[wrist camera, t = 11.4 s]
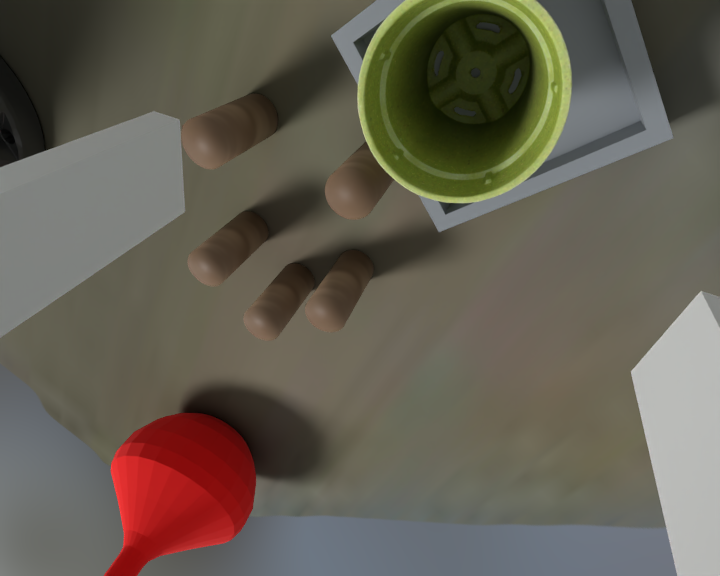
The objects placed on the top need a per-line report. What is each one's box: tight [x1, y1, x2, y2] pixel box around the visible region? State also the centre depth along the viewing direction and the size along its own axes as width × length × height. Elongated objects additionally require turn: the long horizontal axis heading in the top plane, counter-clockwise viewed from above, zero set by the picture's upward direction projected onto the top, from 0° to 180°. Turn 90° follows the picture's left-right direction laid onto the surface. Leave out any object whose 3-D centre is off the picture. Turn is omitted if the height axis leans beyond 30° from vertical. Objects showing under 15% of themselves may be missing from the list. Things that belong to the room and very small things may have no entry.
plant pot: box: [357, 0, 572, 203], centre depth 23 cm, size 9×9×9 cm
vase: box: [104, 413, 256, 576], centre depth 55 cm, size 18×18×19 cm
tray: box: [331, 0, 673, 232], centre depth 26 cm, size 14×14×2 cm
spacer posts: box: [181, 93, 394, 341], centre depth 33 cm, size 17×17×7 cm
